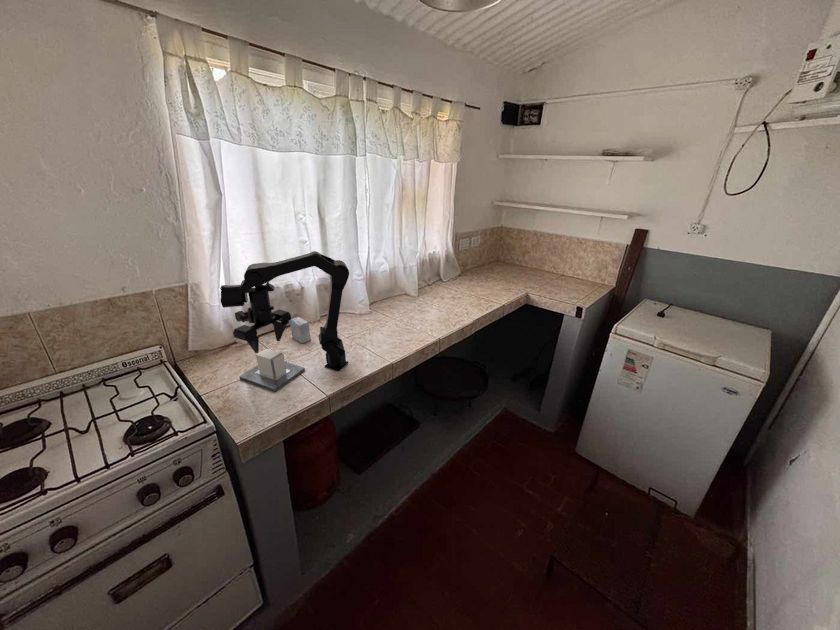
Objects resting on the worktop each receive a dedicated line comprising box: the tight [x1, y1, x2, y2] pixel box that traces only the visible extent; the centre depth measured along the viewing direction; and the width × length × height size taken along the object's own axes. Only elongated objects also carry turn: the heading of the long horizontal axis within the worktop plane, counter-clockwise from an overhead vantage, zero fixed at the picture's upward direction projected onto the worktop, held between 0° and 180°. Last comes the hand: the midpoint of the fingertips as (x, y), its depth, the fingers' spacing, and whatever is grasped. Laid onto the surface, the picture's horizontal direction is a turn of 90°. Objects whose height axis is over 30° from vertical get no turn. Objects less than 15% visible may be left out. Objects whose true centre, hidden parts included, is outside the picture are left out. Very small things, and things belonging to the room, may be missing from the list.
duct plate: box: [239, 361, 306, 393], centre depth 115 cm, size 16×14×1 cm
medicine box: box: [289, 316, 311, 344], centre depth 138 cm, size 8×4×9 cm, turn 48°
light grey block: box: [255, 348, 286, 378], centre depth 113 cm, size 5×8×7 cm, turn 66°
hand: (267, 346), depth 110 cm, fingers open, 9 cm apart
